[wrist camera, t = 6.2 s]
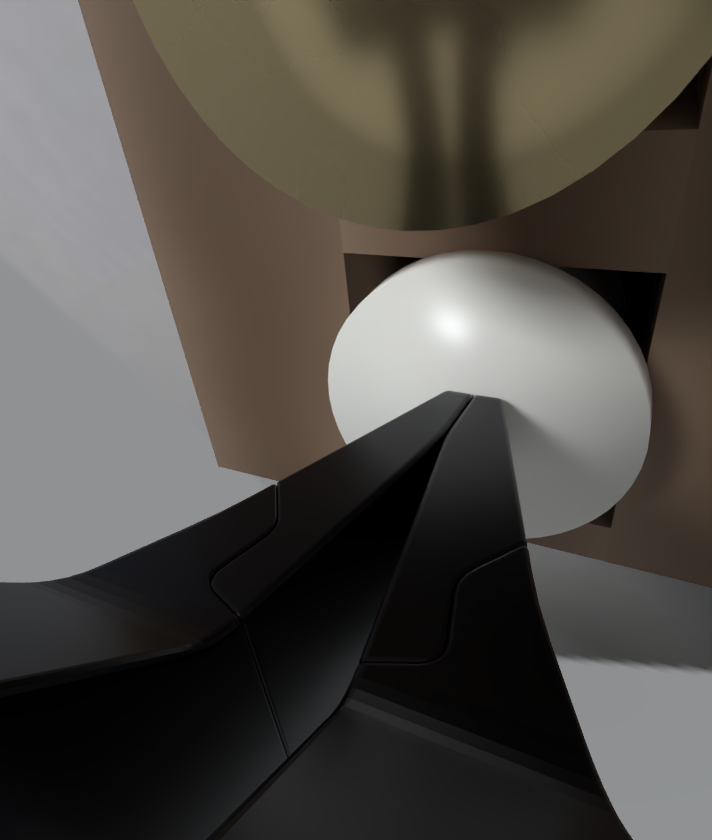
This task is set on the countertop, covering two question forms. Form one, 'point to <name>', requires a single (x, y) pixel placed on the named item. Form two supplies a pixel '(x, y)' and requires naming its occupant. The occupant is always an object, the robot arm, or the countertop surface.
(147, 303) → the countertop surface
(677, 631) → the countertop surface
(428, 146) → the brass knob
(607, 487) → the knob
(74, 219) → the countertop surface
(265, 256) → the control panel
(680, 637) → the countertop surface
